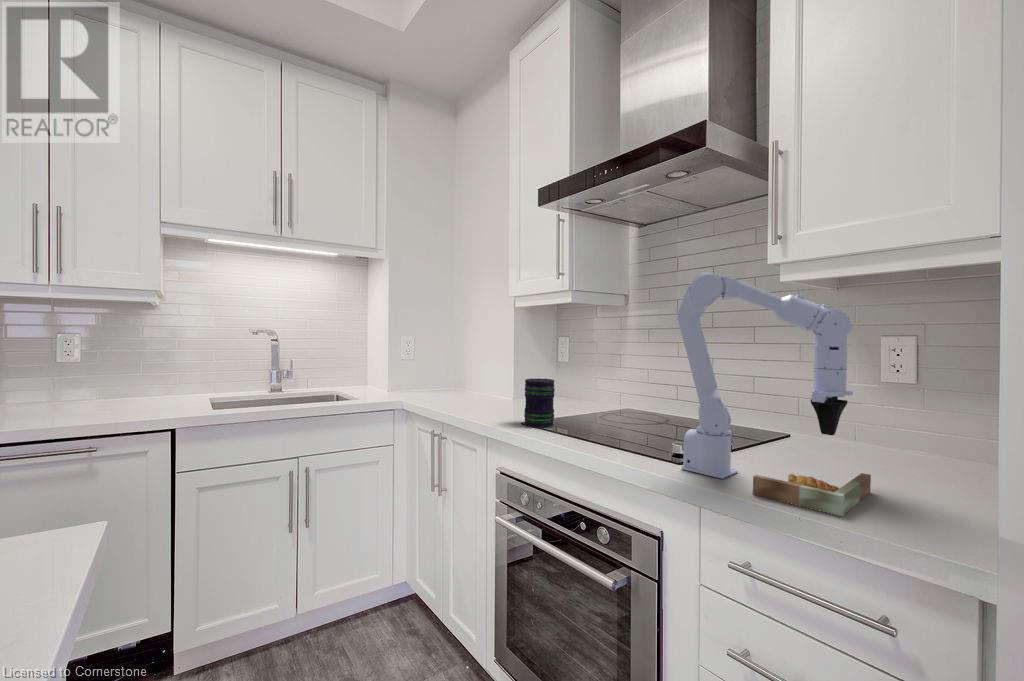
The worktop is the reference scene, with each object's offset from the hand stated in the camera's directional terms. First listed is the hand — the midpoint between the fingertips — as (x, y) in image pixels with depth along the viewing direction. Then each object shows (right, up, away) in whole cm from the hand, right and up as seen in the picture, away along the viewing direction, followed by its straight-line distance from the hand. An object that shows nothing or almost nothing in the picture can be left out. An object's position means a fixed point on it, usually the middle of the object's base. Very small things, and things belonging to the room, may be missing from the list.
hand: (828, 434), depth 99 cm
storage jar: (-56, -9, +59) cm, 82 cm away
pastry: (-8, -11, -7) cm, 15 cm away
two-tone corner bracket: (-6, -10, -5) cm, 13 cm away
